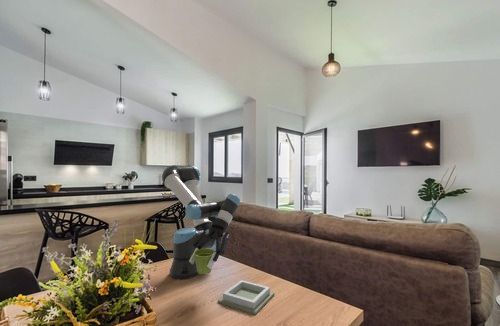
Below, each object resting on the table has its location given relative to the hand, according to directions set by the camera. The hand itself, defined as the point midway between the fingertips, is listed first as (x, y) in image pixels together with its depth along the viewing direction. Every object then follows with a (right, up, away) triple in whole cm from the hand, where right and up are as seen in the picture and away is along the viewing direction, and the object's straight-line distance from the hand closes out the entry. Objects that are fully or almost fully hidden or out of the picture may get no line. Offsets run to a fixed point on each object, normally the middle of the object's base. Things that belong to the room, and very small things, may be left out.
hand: (199, 265), depth 112 cm
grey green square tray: (+21, -14, 0) cm, 25 cm away
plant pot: (+1, -4, +3) cm, 5 cm away
